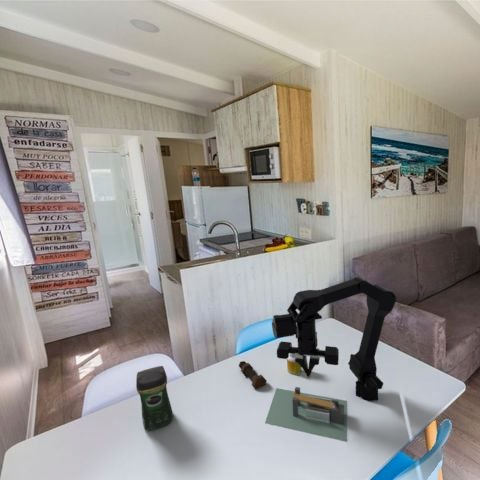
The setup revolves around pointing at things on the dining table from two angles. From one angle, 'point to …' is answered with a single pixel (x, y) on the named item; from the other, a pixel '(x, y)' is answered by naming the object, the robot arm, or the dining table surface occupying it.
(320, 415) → the heatsink
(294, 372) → the supplement bottle
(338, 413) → the block
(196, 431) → the dining table surface
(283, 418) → the board
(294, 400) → the lug fork
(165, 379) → the coffee jar
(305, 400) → the brown long flat bar
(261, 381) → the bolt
